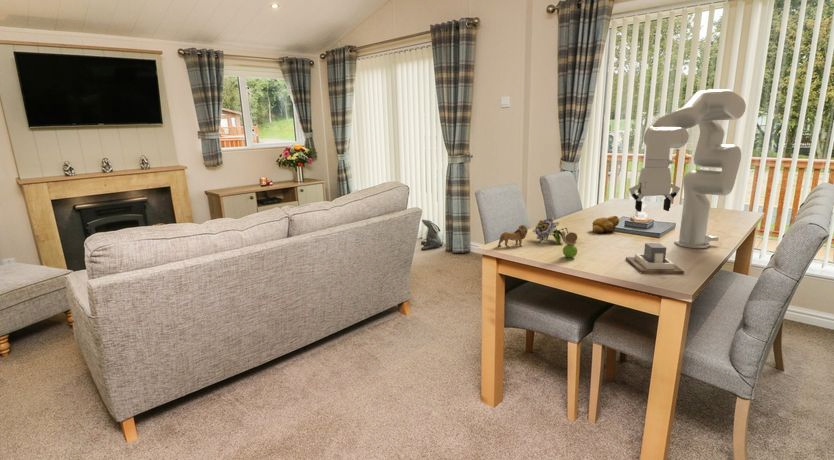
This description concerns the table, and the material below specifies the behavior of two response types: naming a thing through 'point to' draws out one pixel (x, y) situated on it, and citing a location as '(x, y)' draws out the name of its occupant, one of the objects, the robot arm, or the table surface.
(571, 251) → the snail figurine
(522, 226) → the lion figurine
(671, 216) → the table surface
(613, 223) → the brown toad figurine
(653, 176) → the robot arm
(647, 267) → the brown piece
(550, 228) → the passion flower
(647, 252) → the grey rectangular block
